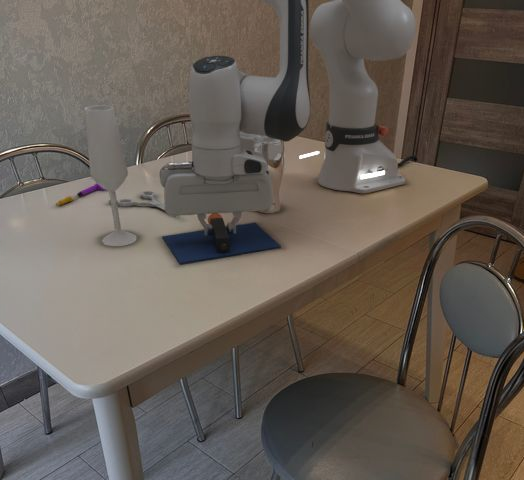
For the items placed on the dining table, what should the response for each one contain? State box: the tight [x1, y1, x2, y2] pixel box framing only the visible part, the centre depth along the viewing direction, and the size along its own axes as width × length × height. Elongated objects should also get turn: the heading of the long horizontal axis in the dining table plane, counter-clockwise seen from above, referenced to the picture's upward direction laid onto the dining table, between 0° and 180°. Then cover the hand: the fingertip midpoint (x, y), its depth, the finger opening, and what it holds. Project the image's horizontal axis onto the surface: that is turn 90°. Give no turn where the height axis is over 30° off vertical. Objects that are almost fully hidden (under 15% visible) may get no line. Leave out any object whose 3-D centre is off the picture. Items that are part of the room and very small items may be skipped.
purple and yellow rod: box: [55, 183, 106, 206], centre depth 125 cm, size 3×1×16 cm
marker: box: [207, 213, 230, 253], centre depth 103 cm, size 14×3×3 cm, turn 11°
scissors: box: [108, 190, 181, 218], centre depth 120 cm, size 11×1×20 cm
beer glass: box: [252, 136, 285, 214], centre depth 116 cm, size 7×7×15 cm
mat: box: [161, 222, 282, 265], centre depth 104 cm, size 20×13×1 cm, turn 113°
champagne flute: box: [84, 104, 137, 247], centre depth 98 cm, size 7×7×24 cm
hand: (220, 233), depth 103 cm, fingers open, 3 cm apart
